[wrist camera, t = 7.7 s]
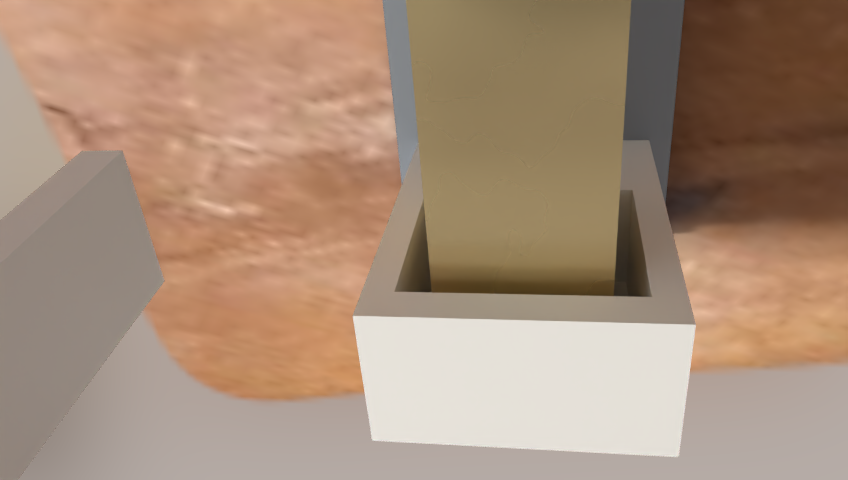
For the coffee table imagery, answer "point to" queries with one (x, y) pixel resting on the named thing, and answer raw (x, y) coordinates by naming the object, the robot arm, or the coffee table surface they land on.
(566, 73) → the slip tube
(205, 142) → the coffee table surface
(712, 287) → the coffee table surface
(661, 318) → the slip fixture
